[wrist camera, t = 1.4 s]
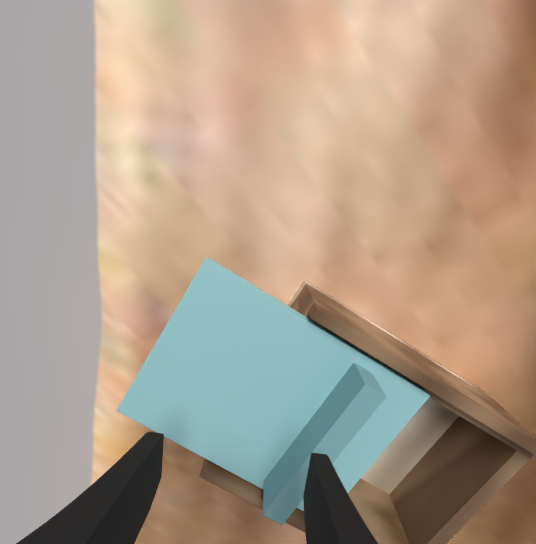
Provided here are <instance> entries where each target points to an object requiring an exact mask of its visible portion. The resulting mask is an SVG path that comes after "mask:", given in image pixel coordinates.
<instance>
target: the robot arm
mask: <svg viewBox="0 0 536 544" xmlns="http://www.w3.org/2000/svg"><path fill="white" fill-rule="evenodd" d="M163 438H164V434H161V433H154V432H147V433H146V434H145V435H144V436H143V437H142V438H141V439H140V440H139V441H138V442H137V443H136V444H135V445H134V446H133V447H132V448H131V449H130V450H129V451H128V452H127V453H126V454H125V455H124V456H123V457H122V458H121V459H120V460H119V461H117V462H116V463H115V464H114V465H113V466H112V467H111V468H110V469H109V470H108V471H107V472H106V473H105V474H103V475H102V476H101V477H100V478H99V479H98V480H97V481H96V482H95V483H93V484H92V485H91V486H90V487H89V488H88V489H86V490H85V491H84V492H83V493H82V494H81V495H79V496H78V497H77V498H76V499H75V500H74V501H72V502H71V503H70V504H69V505H67V506H66V507H65V508H64V509H62V510H61V511H60V512H59V513H57V514H56V515H55V516H54V517H52V518H51V519H50V520H48V521H47V522H46V523H44V524H43V525H42V526H40V527H39V528H38V529H36V530H35V531H34V532H32V533H31V534H29V535H28V536H26V537H25V538H24V539H22V540H21V541H19V542H18V543H17V544H134V543H135V541H136V538H137V536H138V534H139V532H140V530H141V528H142V525H143V523H144V521H145V519H146V517H147V514H148V512H149V510H150V508H151V505H152V502H153V499H154V497H155V494H156V491H157V488H158V485H159V482H160V479H161V472H162V455H163ZM303 499H304V521H305V533H306V541H307V544H378V542H377V541H376V539H375V538H374V536H373V535H372V533H371V532H370V530H369V528H368V527H367V525H366V524H365V522H364V520H363V519H362V517H361V516H360V514H359V512H358V510H357V509H356V507H355V505H354V504H353V502H352V500H351V498H350V497H349V495H348V493H347V491H346V489H345V488H344V486H343V484H342V482H341V480H340V478H339V476H338V474H337V472H336V470H335V468H334V466H333V464H332V462H331V460H330V458H329V457H328V455H327V454H319V453H311V457H310V462H309V468H308V473H307V478H306V484H305V489H304V495H303Z"/></svg>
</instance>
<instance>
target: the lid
mask: <svg viewBox="0 0 536 544" xmlns="http://www.w3.org/2000/svg"><path fill="white" fill-rule="evenodd" d="M429 397H430V395H429V393H428V392H427V391H426V390H425V389H424V388H422V387H421V386H419V385H417V384H416V383H414V382H412V381H411V380H409V379H407V378H406V377H404V376H403V375H401V374H399V373H398V372H396V371H394V370H393V369H391V368H389V367H388V366H386V365H384V364H383V363H381V362H379V361H378V360H376V359H375V358H373V357H371V356H370V355H368V354H366V353H365V352H363V351H361V350H360V349H358V348H356V347H355V346H353V345H352V344H350V343H348V342H347V341H345V340H343V339H342V338H340V337H338V336H337V335H335V334H333V333H332V332H330V331H329V330H327V329H325V328H324V327H322V326H320V325H319V324H317V323H315V322H314V321H312V320H310V319H309V318H307V317H306V316H304V315H302V314H301V313H299V312H297V311H296V310H294V309H292V308H291V307H289V306H287V305H286V304H284V303H283V302H281V301H279V300H278V299H276V298H274V297H273V296H271V295H269V294H268V293H266V292H264V291H263V290H261V289H259V288H258V287H256V286H255V285H253V284H251V283H250V282H248V281H246V280H245V279H243V278H241V277H240V276H238V275H236V274H235V273H233V272H232V271H230V270H228V269H227V268H225V267H223V266H222V265H220V264H218V263H217V262H215V261H213V260H212V259H210V258H209V257H207V258H206V259H205V260H204V262H203V263H202V265H201V267H200V268H199V270H198V272H197V274H196V275H195V277H194V279H193V280H192V282H191V284H190V286H189V287H188V289H187V291H186V292H185V294H184V296H183V297H182V299H181V301H180V303H179V304H178V306H177V308H176V309H175V311H174V313H173V315H172V316H171V318H170V320H169V321H168V323H167V325H166V327H165V328H164V330H163V332H162V333H161V335H160V337H159V339H158V340H157V342H156V344H155V345H154V347H153V349H152V350H151V352H150V354H149V356H148V357H147V359H146V361H145V362H144V364H143V366H142V368H141V369H140V371H139V373H138V374H137V376H136V378H135V380H134V381H133V383H132V385H131V386H130V388H129V390H128V392H127V393H126V395H125V397H124V398H123V400H122V402H121V404H120V405H119V407H118V409H117V410H116V411H118V412H120V413H121V414H123V415H125V416H127V417H129V418H131V419H133V420H134V421H136V422H138V423H140V424H142V425H144V426H146V427H147V428H149V429H151V430H153V431H155V432H157V433H161V434H164V437H166V438H168V439H170V440H172V441H174V442H175V443H177V444H179V445H181V446H183V447H185V448H187V449H188V450H190V451H192V452H194V453H196V454H198V455H200V456H202V457H203V458H205V459H207V460H209V461H211V462H213V463H215V464H216V465H218V466H220V467H222V468H224V469H226V470H228V471H229V472H231V473H233V474H235V475H237V476H239V477H241V478H243V479H244V480H246V481H248V482H250V483H252V484H254V485H256V486H257V487H259V488H261V489H263V490H264V493H263V516H265V517H267V518H269V519H271V520H273V521H275V522H277V523H278V524H280V525H283V524H284V522H285V521H286V520H287V519H288V518H289V516H290V515H291V514H292V513H293V511H294V510H295V509H296V508H298V509H300V510H302V511H304V499H303V495H304V489H305V484H306V478H307V473H308V468H309V462H310V457H311V453H319V454H327V455H328V457H329V458H330V460H331V462H332V464H333V466H334V468H335V470H336V472H337V474H338V476H339V478H340V480H341V482H342V484H343V486H344V488H345V489H346V491H347V493H348V492H349V491H350V490H351V489H352V488H353V486H354V485H355V484H356V483H357V482H358V481H359V479H360V478H361V477H362V476H363V475H364V474H365V472H366V471H367V470H368V469H369V468H370V466H371V465H372V464H373V463H374V462H375V461H376V459H377V458H378V457H379V456H380V455H381V454H382V452H383V451H384V450H385V449H386V448H387V446H388V445H389V444H390V443H391V442H392V441H393V439H394V438H395V437H396V436H397V435H398V433H399V432H400V431H401V430H402V429H403V428H404V426H405V425H406V424H407V423H408V422H409V421H410V419H411V418H412V417H413V416H414V415H415V413H416V412H417V411H418V410H419V409H420V408H421V406H422V405H423V404H424V403H425V402H426V401H427V399H428V398H429Z"/></svg>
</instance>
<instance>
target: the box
mask: <svg viewBox="0 0 536 544" xmlns="http://www.w3.org/2000/svg"><path fill="white" fill-rule="evenodd" d="M288 306H289V307H291V308H292V309H294V310H296V311H297V312H299V313H301V314H302V315H304V316H306V317H307V318H309V319H310V320H312V321H314V322H315V323H317V324H319V325H320V326H322V327H324V328H325V329H327V330H329V331H330V332H332V333H333V334H335V335H337V336H338V337H340V338H342V339H343V340H345V341H347V342H348V343H350V344H352V345H353V346H355V347H356V348H358V349H360V350H361V351H363V352H365V353H366V354H368V355H370V356H371V357H373V358H375V359H376V360H378V361H379V362H381V363H383V364H384V365H386V366H388V367H389V368H391V369H393V370H394V371H396V372H398V373H399V374H401V375H403V376H404V377H406V378H407V379H409V380H411V381H412V382H414V383H416V384H417V385H419V386H421V387H422V388H424V389H425V390H426V391H427V392H428V393H429V395H430V397H429V398H428V399H427V401H426V402H425V403H424V404H423V405H422V406H421V408H420V409H419V410H418V411H417V412H416V413H415V415H414V416H413V417H412V418H411V419H410V421H409V422H408V423H407V424H406V425H405V426H404V428H403V429H402V430H401V431H400V432H399V433H398V435H397V436H396V437H395V438H394V439H393V441H392V442H391V443H390V444H389V445H388V446H387V448H386V449H385V450H384V451H383V452H382V454H381V455H380V456H379V457H378V458H377V459H376V461H375V462H374V463H373V464H372V465H371V466H370V468H369V469H368V470H367V471H366V472H365V474H364V475H363V476H362V477H361V478H360V479H359V481H358V482H357V483H356V484H355V485H354V486H353V488H352V489H351V490H350V491H349V492H348V495H349V497H350V498H351V500H352V502H353V504H354V505H355V507H356V509H357V510H358V512H359V514H360V516H361V517H362V519H363V520H364V522H365V524H366V525H367V527H368V528H369V530H370V532H371V533H372V535H373V536H374V538H375V539H376V541H377V542H378V544H446V543H447V542H448V541H449V540H450V539H451V538H452V537H453V536H454V535H455V534H456V533H457V532H458V531H459V530H460V529H461V528H462V527H463V526H464V525H465V524H466V523H467V522H468V521H469V520H470V519H471V518H472V517H473V516H474V515H475V514H476V513H477V512H478V511H479V510H480V509H481V508H482V507H483V506H484V505H485V504H486V503H487V502H488V501H489V500H490V499H491V498H492V497H493V496H494V495H495V494H496V493H497V492H498V491H499V490H500V489H501V488H502V487H503V486H504V485H505V484H506V483H507V482H508V481H509V480H510V479H511V478H512V477H513V476H514V475H515V474H516V473H517V472H518V471H519V470H520V469H521V468H522V467H523V466H524V465H525V464H526V463H527V462H528V461H529V460H530V458H531V457H532V456H533V455H536V436H535V435H534V434H532V433H531V432H530V431H529V430H528V429H527V428H526V427H524V426H523V425H522V424H521V423H520V422H519V421H517V420H516V419H515V418H514V417H513V416H512V415H510V414H509V413H508V412H507V411H506V410H505V409H504V408H502V407H501V406H500V405H499V404H498V403H497V402H495V401H494V400H493V399H492V398H491V397H490V396H488V395H487V394H486V393H485V392H484V391H482V390H481V389H479V388H477V387H476V386H474V385H473V384H471V383H469V382H468V381H466V380H465V379H463V378H461V377H460V376H458V375H457V374H455V373H453V372H452V371H450V370H448V369H447V368H445V367H444V366H442V365H440V364H439V363H437V362H436V361H434V360H432V359H431V358H429V357H428V356H426V355H424V354H423V353H421V352H420V351H418V350H416V349H415V348H413V347H411V346H410V345H408V344H407V343H405V342H403V341H402V340H400V339H399V338H397V337H395V336H394V335H392V334H391V333H389V332H387V331H386V330H384V329H382V328H381V327H379V326H378V325H376V324H374V323H373V322H371V321H370V320H368V319H366V318H365V317H363V316H362V315H360V314H358V313H357V312H355V311H354V310H352V309H350V308H349V307H347V306H345V305H344V304H342V303H341V302H339V301H337V300H336V299H334V298H333V297H331V296H329V295H328V294H326V293H325V292H323V291H321V290H320V289H318V288H317V287H315V286H313V285H312V284H310V283H308V282H307V281H304V282H303V284H302V285H301V287H300V288H299V290H298V291H297V293H296V294H295V296H294V297H293V299H292V300H291V302H290V303H289V305H288ZM200 477H201V478H203V479H205V480H207V481H209V482H211V483H213V484H215V485H217V486H218V487H220V488H222V489H224V490H226V491H228V492H230V493H232V494H234V495H235V496H237V497H239V498H241V499H243V500H245V501H247V502H249V503H251V504H252V505H254V506H256V507H258V508H260V509H262V510H263V493H264V490H263V489H261V488H259V487H257V486H256V485H254V484H252V483H250V482H248V481H246V480H244V479H243V478H241V477H239V476H237V475H235V474H233V473H231V472H229V471H228V470H226V469H224V468H222V467H220V466H218V465H216V464H215V463H213V462H211V461H209V460H207V459H205V460H204V463H203V467H202V470H201V474H200ZM285 522H286V523H288V524H290V525H292V526H294V527H296V528H298V529H300V530H302V531H303V532H305V521H304V511H302V510H300V509H298V508H296V509H295V510H294V511H293V513H292V514H291V515H290V516H289V518H288V519H287V520H286V521H285Z"/></svg>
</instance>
